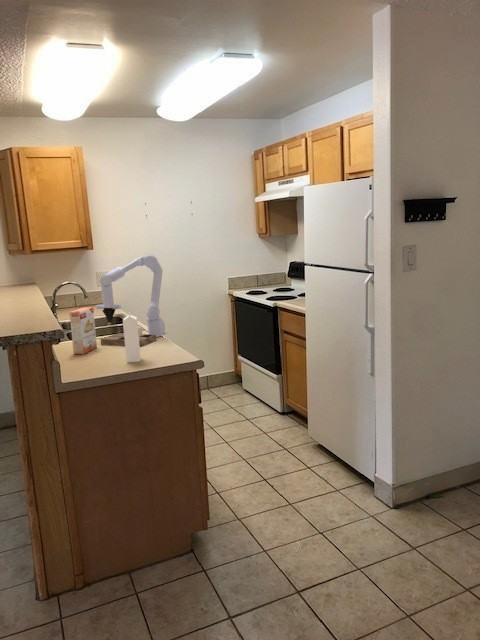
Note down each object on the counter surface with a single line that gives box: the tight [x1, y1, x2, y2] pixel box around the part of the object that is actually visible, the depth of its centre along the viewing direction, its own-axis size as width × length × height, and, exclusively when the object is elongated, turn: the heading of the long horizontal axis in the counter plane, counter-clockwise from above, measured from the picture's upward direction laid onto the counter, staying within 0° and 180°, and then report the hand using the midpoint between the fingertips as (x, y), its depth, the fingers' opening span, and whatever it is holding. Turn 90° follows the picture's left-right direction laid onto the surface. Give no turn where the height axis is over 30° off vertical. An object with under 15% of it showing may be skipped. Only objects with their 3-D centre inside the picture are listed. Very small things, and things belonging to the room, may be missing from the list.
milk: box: [122, 311, 142, 363], centre depth 236 cm, size 6×6×22 cm
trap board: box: [100, 332, 157, 348], centre depth 276 cm, size 15×24×3 cm, turn 66°
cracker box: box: [69, 306, 98, 355], centre depth 261 cm, size 14×6×21 cm, turn 168°
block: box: [138, 325, 144, 336], centre depth 278 cm, size 4×4×4 cm
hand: (110, 322), depth 286 cm, fingers closed
